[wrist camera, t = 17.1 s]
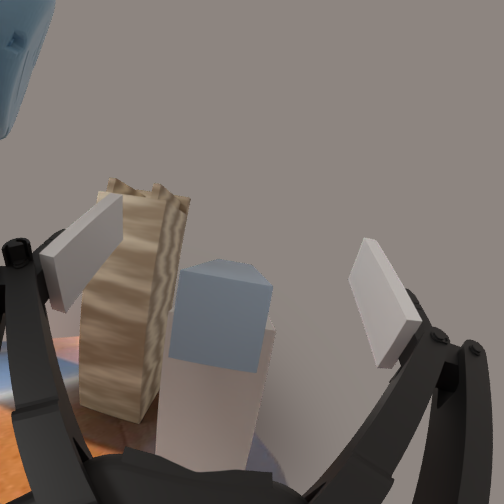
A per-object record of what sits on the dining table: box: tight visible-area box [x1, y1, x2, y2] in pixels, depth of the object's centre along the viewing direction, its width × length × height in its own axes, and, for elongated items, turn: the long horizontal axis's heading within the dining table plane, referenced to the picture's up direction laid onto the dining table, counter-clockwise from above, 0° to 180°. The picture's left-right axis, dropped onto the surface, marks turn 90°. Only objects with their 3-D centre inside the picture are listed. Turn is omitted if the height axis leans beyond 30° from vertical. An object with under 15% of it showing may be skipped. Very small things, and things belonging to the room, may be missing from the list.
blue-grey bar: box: [168, 259, 273, 373], centre depth 25 cm, size 24×4×4 cm, turn 2°
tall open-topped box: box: [79, 178, 191, 424], centre depth 46 cm, size 16×10×35 cm, turn 2°
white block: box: [155, 307, 276, 472], centre depth 27 cm, size 10×8×22 cm
